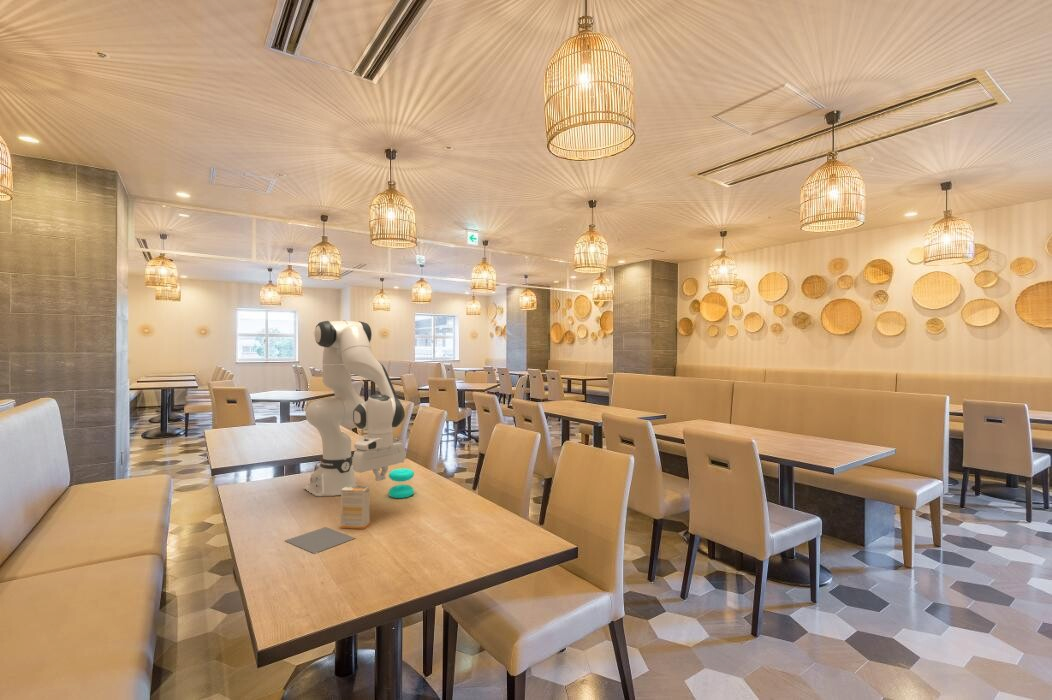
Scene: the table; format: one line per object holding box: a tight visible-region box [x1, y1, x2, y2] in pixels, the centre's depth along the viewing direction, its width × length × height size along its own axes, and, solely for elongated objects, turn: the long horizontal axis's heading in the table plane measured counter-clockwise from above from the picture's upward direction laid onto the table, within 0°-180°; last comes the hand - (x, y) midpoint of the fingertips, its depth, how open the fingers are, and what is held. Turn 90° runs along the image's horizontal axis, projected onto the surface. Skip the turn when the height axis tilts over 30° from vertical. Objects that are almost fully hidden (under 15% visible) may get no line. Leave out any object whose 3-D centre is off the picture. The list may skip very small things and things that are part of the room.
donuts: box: [388, 468, 415, 499], centre depth 198 cm, size 10×10×10 cm
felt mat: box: [284, 526, 356, 554], centre depth 152 cm, size 16×14×1 cm
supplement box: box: [340, 485, 371, 530], centre depth 163 cm, size 8×5×13 cm, turn 84°
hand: (380, 479), depth 171 cm, fingers closed
